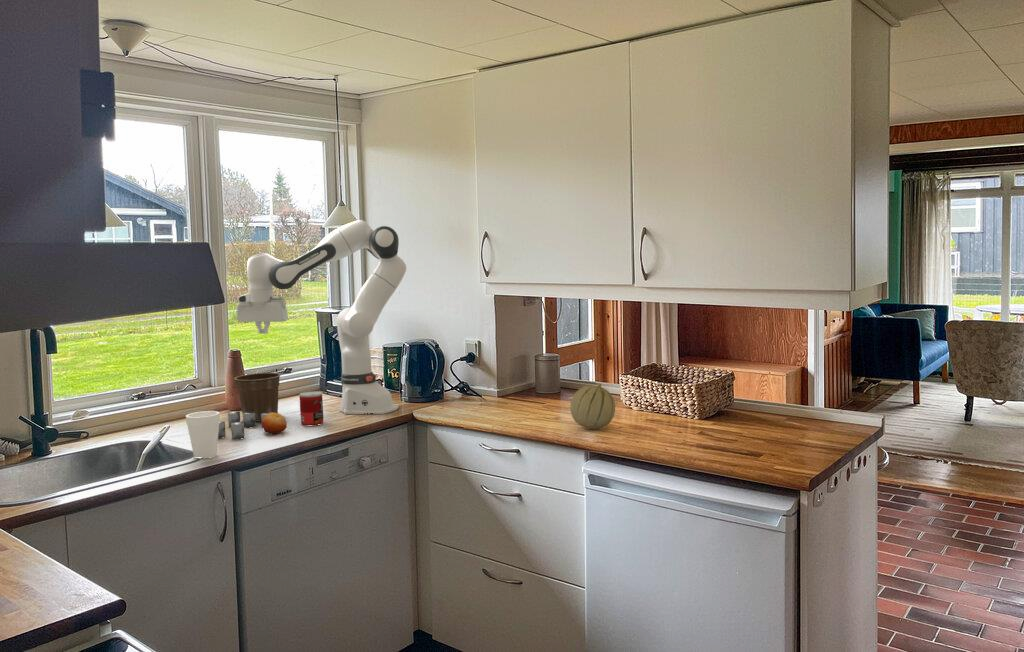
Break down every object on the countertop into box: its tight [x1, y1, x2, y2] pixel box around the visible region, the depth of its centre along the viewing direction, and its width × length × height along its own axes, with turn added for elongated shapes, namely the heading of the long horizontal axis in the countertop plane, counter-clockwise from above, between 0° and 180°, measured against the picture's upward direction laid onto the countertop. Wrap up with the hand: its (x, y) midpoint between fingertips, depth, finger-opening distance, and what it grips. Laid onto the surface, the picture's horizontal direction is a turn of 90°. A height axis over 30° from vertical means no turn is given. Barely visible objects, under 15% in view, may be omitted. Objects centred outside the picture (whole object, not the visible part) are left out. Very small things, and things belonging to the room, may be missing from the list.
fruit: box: [261, 412, 288, 436], centre depth 265 cm, size 8×8×8 cm
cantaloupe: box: [569, 382, 616, 430], centre depth 257 cm, size 15×15×15 cm
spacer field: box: [218, 410, 272, 440], centre depth 268 cm, size 17×20×5 cm
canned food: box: [299, 391, 324, 426], centre depth 277 cm, size 8×8×11 cm
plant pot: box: [233, 372, 282, 423], centre depth 287 cm, size 16×16×16 cm
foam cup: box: [185, 410, 221, 459], centre depth 236 cm, size 10×9×13 cm
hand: (263, 333), depth 295 cm, fingers closed
